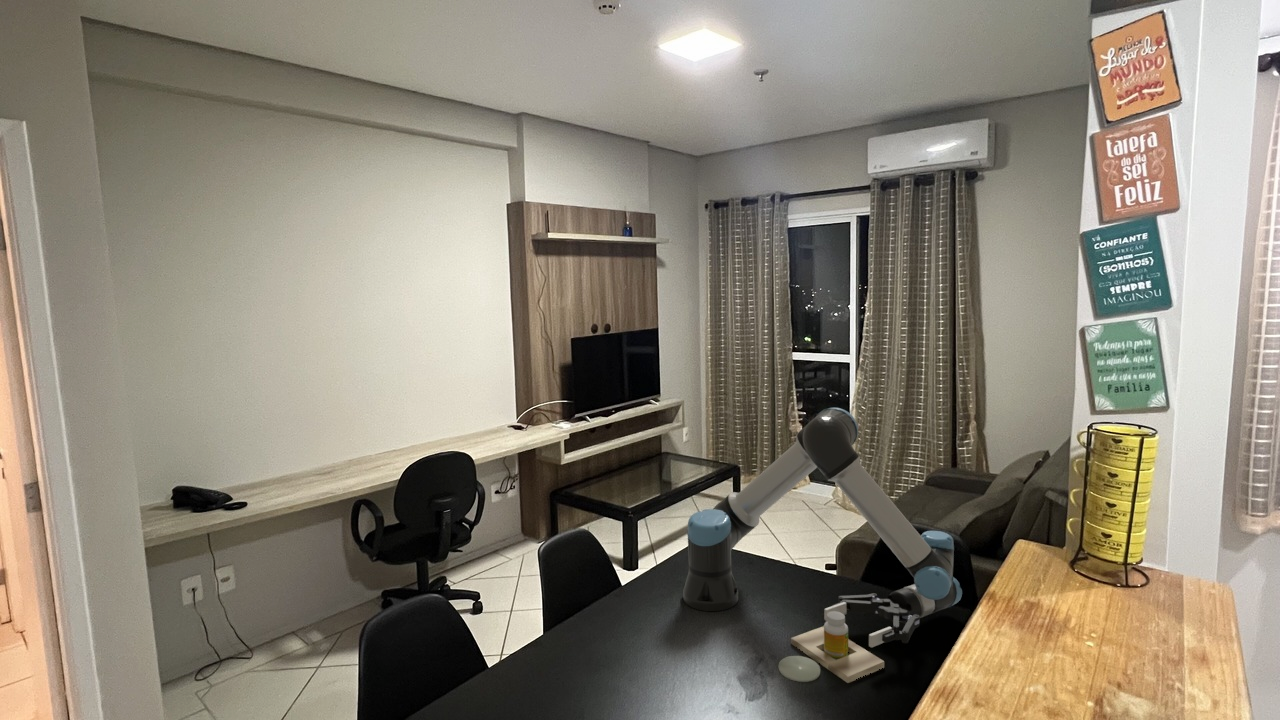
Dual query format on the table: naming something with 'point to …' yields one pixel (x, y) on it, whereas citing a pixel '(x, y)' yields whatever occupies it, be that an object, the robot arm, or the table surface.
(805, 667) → the pale green oval pebble
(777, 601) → the table surface
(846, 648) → the supplement bottle
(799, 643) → the socket plate
